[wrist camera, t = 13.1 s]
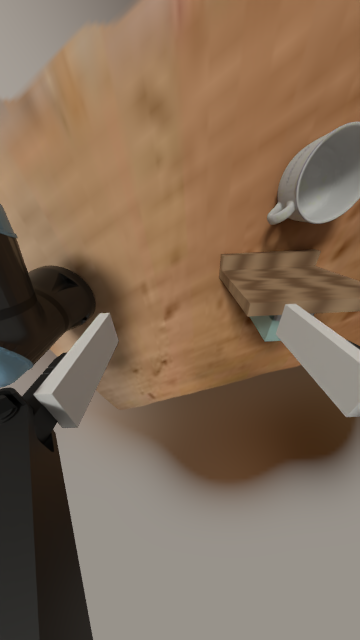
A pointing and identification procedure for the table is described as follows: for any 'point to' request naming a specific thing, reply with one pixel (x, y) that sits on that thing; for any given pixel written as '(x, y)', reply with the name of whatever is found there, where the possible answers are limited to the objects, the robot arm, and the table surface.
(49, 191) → the table surface
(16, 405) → the robot arm
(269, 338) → the cabinet
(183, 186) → the table surface
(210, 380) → the table surface
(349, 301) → the wall board
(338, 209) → the teacup
